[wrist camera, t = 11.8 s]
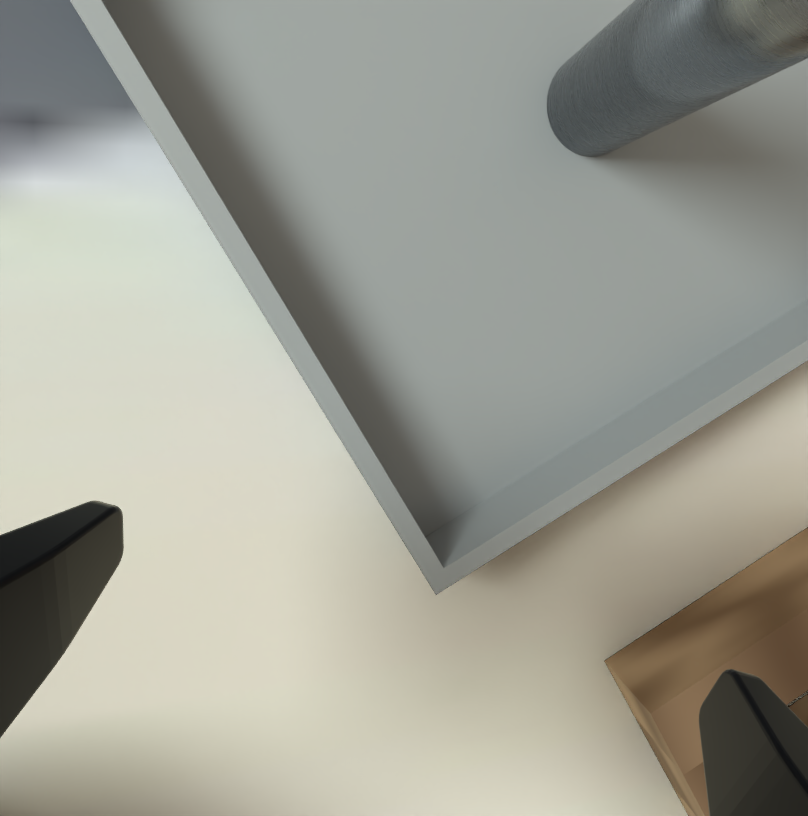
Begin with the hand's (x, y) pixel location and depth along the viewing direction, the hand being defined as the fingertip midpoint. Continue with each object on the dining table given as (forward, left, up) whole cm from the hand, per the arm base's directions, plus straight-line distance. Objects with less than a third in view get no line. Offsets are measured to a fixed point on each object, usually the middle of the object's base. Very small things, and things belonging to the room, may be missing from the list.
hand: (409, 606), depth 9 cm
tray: (+12, +5, -11) cm, 17 cm away
